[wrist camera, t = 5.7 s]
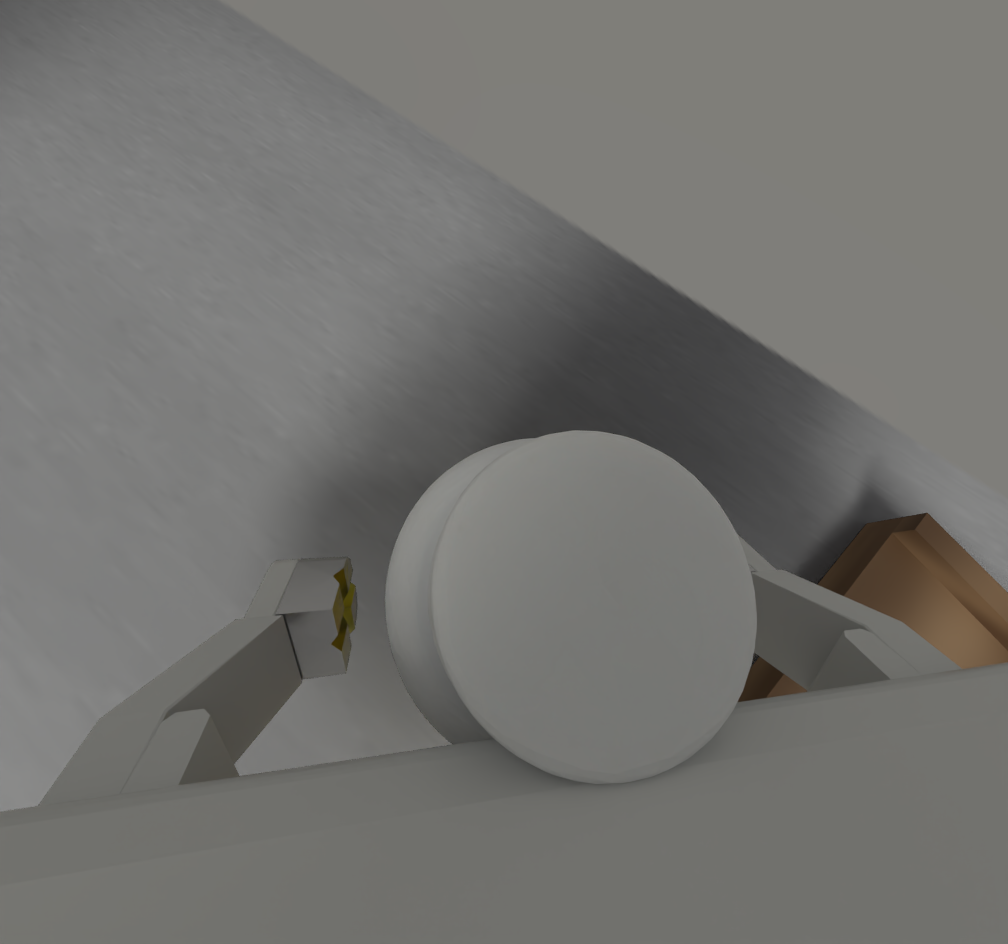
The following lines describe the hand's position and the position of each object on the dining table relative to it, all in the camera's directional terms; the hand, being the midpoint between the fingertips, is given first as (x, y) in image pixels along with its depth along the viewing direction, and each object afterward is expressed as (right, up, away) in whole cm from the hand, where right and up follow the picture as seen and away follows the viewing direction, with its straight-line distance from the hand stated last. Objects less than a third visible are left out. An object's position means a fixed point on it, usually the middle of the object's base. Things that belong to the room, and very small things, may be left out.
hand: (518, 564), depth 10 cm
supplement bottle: (-1, -2, +5) cm, 5 cm away
